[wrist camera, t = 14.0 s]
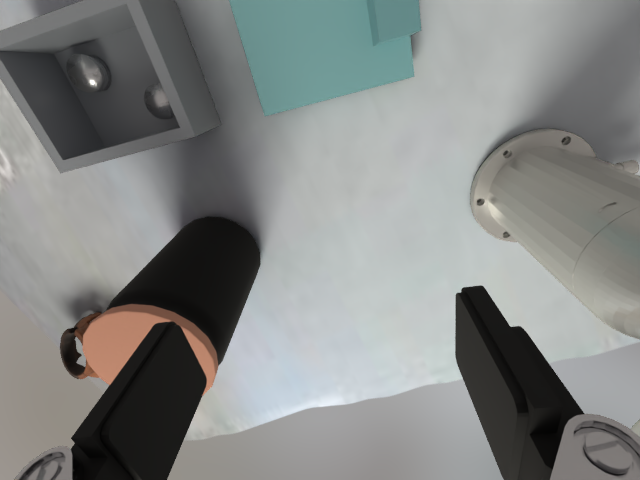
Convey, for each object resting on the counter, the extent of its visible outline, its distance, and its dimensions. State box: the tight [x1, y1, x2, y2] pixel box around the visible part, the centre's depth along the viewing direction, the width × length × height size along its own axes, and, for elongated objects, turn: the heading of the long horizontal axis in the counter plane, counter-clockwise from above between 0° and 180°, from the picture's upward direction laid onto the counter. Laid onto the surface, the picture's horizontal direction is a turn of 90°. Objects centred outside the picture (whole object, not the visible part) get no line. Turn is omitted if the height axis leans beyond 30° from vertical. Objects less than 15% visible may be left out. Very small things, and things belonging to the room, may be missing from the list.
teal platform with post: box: [229, 0, 421, 116], centre depth 26 cm, size 14×11×8 cm
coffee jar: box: [83, 217, 260, 396], centre depth 33 cm, size 11×11×18 cm
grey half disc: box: [144, 83, 175, 119], centre depth 32 cm, size 3×3×2 cm
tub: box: [0, 0, 221, 173], centre depth 30 cm, size 14×11×7 cm
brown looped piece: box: [60, 313, 101, 379], centre depth 47 cm, size 12×10×8 cm
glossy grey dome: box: [66, 54, 112, 93], centre depth 31 cm, size 3×3×2 cm
